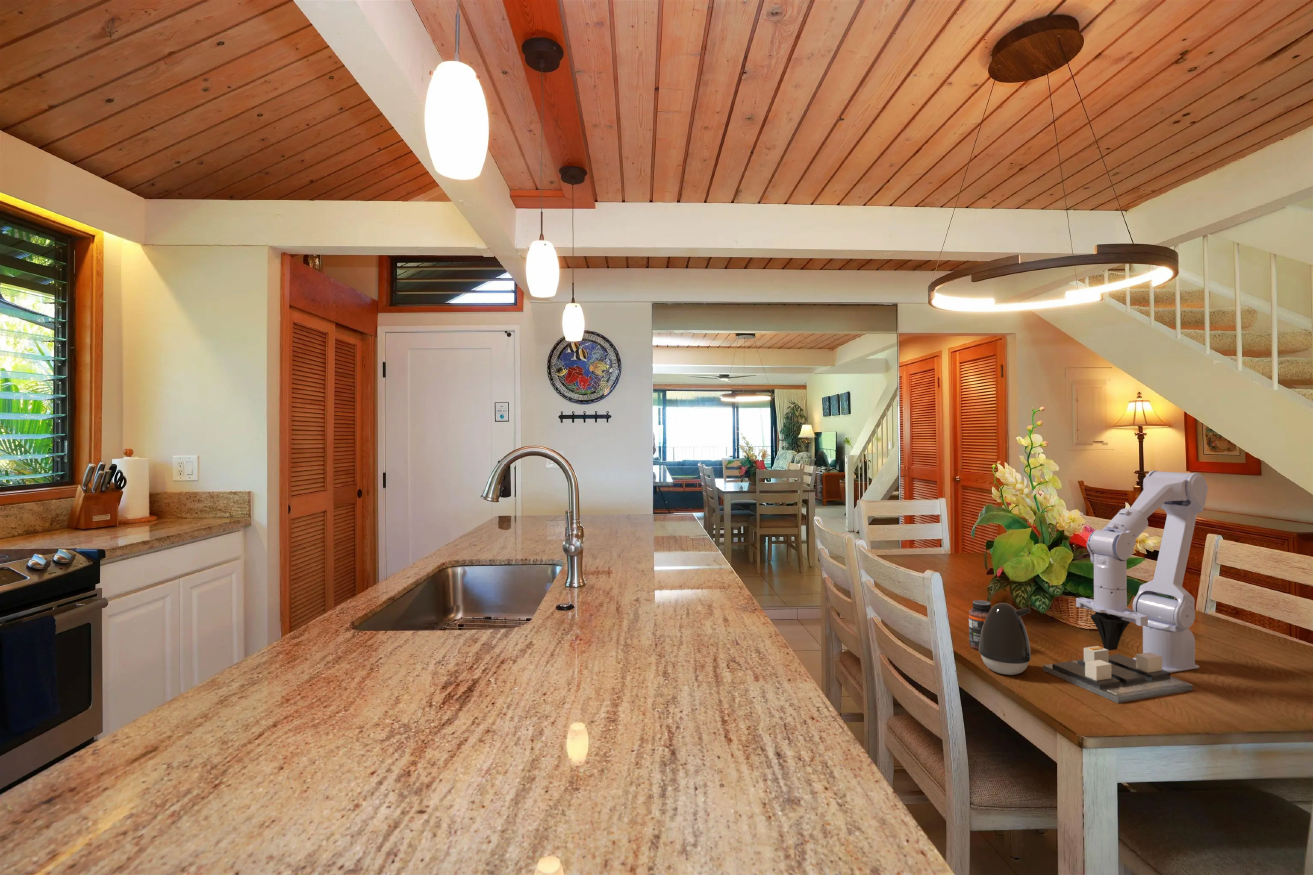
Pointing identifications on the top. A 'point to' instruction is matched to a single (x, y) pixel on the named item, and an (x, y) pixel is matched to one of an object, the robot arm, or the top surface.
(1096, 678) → the block
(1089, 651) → the breaker middle
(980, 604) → the supplement bottle
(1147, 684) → the breaker panel
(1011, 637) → the pump dispenser
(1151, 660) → the block
